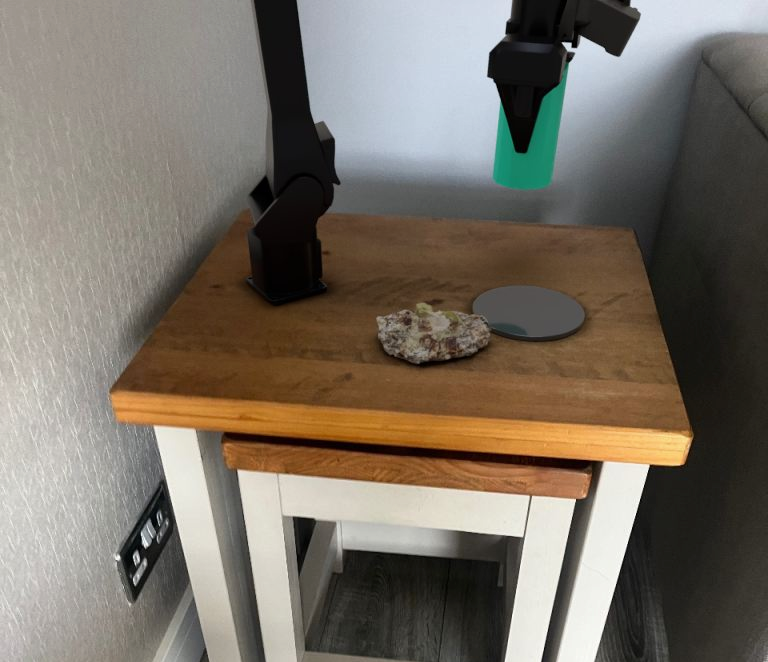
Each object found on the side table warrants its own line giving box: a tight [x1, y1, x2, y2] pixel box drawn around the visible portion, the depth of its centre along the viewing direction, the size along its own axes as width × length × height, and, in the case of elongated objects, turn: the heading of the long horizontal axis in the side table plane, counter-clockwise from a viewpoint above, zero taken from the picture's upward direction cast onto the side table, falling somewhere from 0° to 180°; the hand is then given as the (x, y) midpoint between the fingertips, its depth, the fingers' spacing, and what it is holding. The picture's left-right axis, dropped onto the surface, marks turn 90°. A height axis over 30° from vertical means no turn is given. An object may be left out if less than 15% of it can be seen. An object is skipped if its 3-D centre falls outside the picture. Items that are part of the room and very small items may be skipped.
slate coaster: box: [471, 285, 586, 342], centre depth 77 cm, size 11×11×1 cm
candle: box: [492, 62, 570, 191], centre depth 76 cm, size 6×6×12 cm
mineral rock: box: [375, 302, 492, 365], centre depth 72 cm, size 11×4×8 cm
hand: (526, 143), depth 77 cm, fingers closed on candle, 6 cm apart
